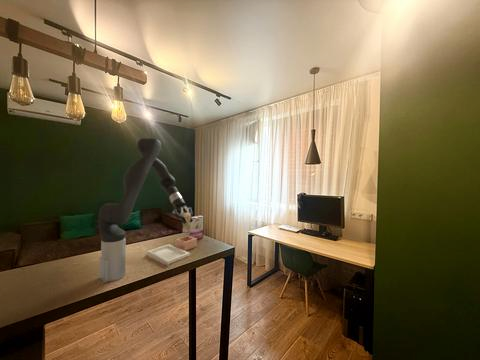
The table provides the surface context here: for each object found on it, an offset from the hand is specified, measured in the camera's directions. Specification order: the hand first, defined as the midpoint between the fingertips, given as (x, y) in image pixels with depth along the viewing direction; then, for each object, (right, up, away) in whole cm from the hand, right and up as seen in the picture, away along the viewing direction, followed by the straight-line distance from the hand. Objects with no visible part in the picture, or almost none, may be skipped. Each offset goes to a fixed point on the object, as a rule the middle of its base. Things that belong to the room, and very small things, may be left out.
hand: (188, 222), depth 121 cm
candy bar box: (0, -16, +18) cm, 24 cm away
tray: (-9, -17, -11) cm, 22 cm away
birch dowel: (-2, -6, +1) cm, 7 cm away
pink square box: (-2, -17, +2) cm, 17 cm away
